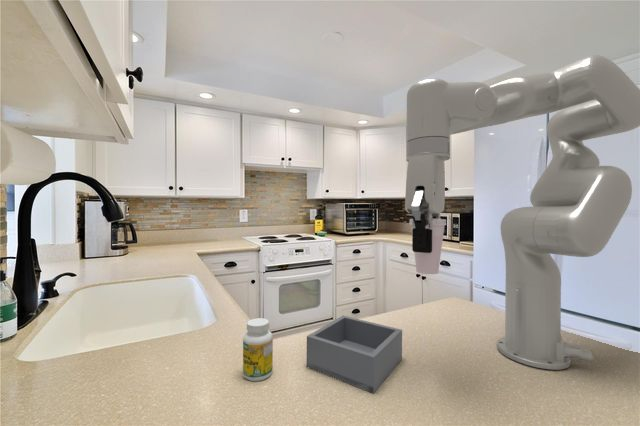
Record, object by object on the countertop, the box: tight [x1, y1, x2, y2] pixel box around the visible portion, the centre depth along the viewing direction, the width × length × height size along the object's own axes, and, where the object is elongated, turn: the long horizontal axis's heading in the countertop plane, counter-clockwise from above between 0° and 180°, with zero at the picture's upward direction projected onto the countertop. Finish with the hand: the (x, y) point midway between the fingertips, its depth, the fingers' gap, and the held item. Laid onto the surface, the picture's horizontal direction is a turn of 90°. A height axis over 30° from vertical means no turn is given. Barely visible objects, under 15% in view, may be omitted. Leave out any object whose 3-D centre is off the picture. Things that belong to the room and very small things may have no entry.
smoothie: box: [409, 215, 447, 275], centre depth 53 cm, size 6×6×14 cm
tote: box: [305, 315, 403, 394], centre depth 57 cm, size 14×14×6 cm
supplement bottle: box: [242, 317, 274, 382], centre depth 53 cm, size 5×5×10 cm
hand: (427, 249), depth 53 cm, fingers closed on smoothie, 6 cm apart
